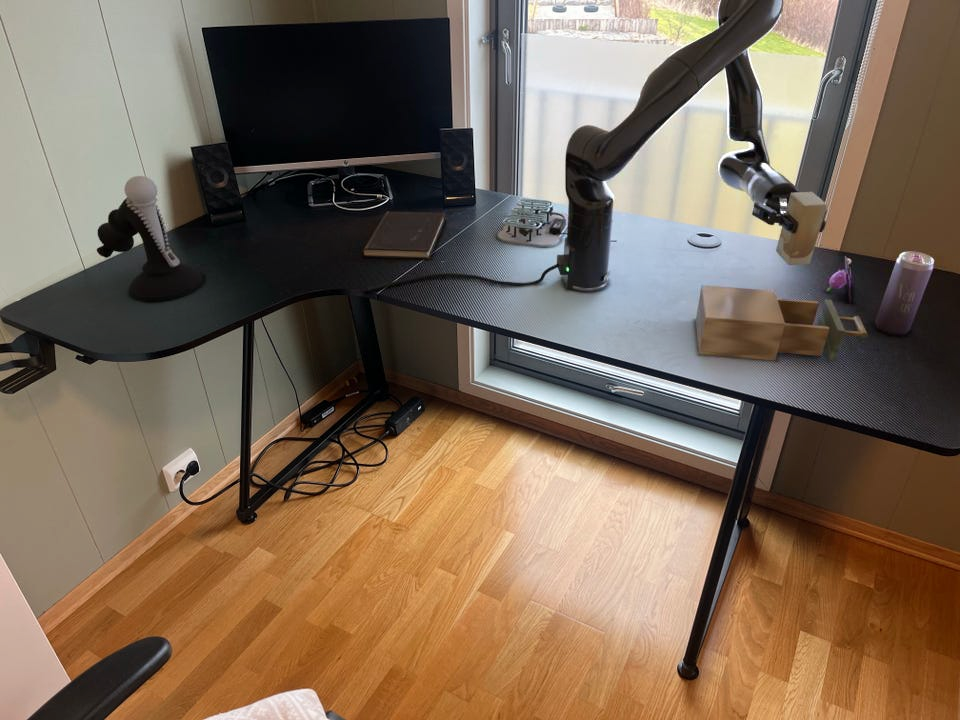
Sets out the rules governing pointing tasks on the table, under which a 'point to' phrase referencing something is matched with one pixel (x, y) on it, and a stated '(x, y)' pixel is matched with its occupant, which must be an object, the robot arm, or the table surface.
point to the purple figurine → (841, 279)
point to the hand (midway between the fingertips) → (808, 227)
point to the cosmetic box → (801, 228)
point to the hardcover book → (405, 235)
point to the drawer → (814, 328)
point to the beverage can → (904, 292)
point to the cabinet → (739, 322)
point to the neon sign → (534, 224)
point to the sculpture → (147, 245)
